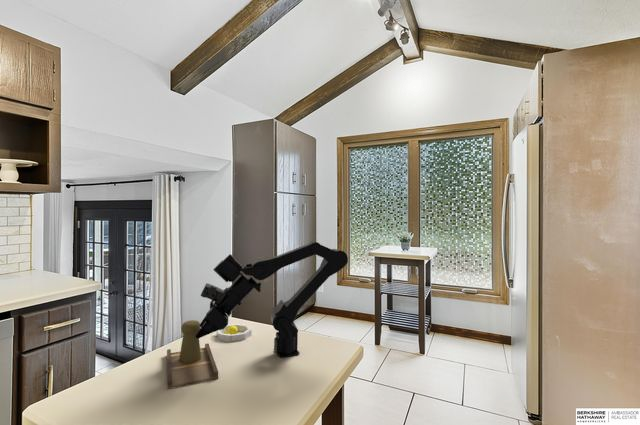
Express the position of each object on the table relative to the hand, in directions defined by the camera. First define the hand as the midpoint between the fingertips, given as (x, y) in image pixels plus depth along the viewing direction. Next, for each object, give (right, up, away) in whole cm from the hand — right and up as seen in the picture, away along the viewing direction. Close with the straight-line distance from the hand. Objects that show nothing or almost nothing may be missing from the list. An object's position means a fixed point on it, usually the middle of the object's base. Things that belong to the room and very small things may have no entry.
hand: (198, 331), depth 93 cm
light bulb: (+3, -9, +20) cm, 22 cm away
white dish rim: (+5, -9, +21) cm, 23 cm away
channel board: (-1, -8, -4) cm, 9 cm away
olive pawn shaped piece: (-2, -8, -1) cm, 8 cm away
